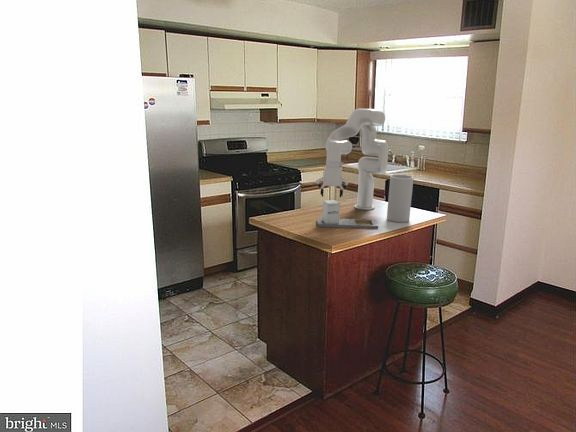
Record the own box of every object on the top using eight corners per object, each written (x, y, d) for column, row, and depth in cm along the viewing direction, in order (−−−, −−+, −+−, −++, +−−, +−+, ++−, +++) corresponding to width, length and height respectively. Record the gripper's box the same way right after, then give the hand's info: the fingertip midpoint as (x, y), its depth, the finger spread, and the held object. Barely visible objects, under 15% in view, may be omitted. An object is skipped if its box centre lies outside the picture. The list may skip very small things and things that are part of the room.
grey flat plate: (317, 220, 255) (317, 217, 254) (375, 222, 254) (375, 219, 253) (317, 226, 243) (317, 223, 243) (378, 229, 242) (378, 226, 242)
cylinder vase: (392, 215, 269) (396, 173, 263) (412, 219, 262) (417, 176, 255) (382, 219, 260) (386, 176, 253) (403, 224, 252) (407, 179, 246)
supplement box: (326, 226, 244) (327, 203, 241) (321, 222, 251) (322, 200, 248) (339, 225, 246) (340, 202, 243) (334, 221, 253) (335, 199, 250)
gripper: (349, 164, 243) (347, 195, 248) (316, 162, 244) (315, 194, 248) (350, 166, 236) (348, 198, 240) (316, 164, 237) (315, 197, 241)
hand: (331, 196), depth 244 cm, fingers open, 9 cm apart
